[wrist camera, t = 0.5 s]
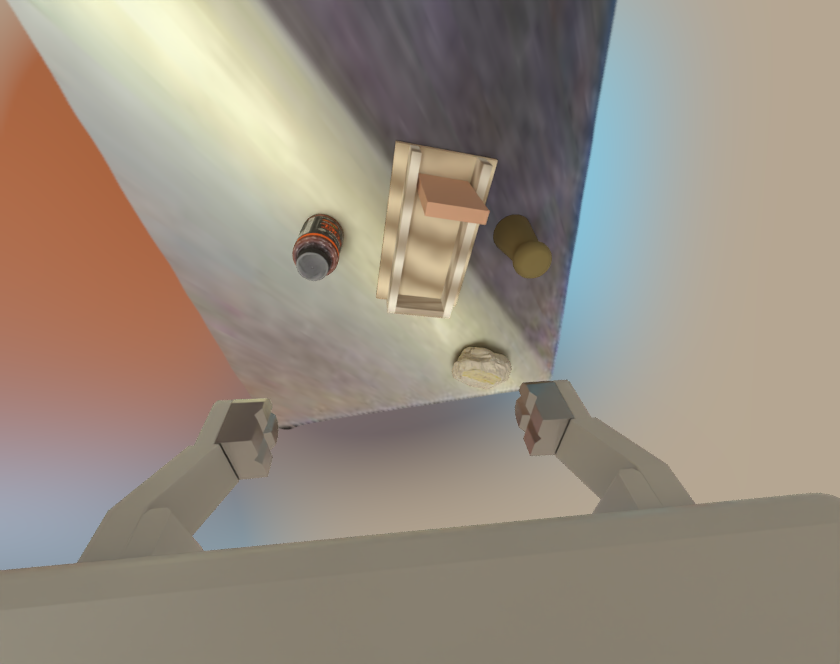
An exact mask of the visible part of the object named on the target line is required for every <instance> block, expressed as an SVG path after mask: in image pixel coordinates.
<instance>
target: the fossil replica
mask: <svg viewBox="0 0 840 664" xmlns="http://www.w3.org/2000/svg"><path fill="white" fill-rule="evenodd" d="M511 367H512V366H511V364H510V361H509V359H508V358H507V357H506V356H505V355H502V354H497V353H494V352H492V351H490V350H488V349H486V348H478V347H467V348H465V349H464V350H463V351H462V353H461V355H460V356H459V358H458V361H457V362H455V363H454V366H453V368H452V375H453V377H454V378H455V379H457V380H458V381H461V382H463V383H465V384H467V385H469V386H473V387H478V388H483V389H490V388H492V387H494V386H496V385H497V384H500V383H502V381H506V380H508V378H509V375H510V373H511V370H512V369H511Z"/></svg>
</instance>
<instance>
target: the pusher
mask: <svg viewBox="0 0 840 664" xmlns="http://www.w3.org/2000/svg"><path fill="white" fill-rule="evenodd" d="M416 188H417V191H418V194H419V198H420V201H421V204H422V208H423V211H424V214H425V216H429V217H435V218H442V219H449V220H456V221H462V222H469V223H476V224H483V225H486V222H487V218H488V215H489V212H490V211H489V210H488V208H487V207H486V206H485V204H484V203H483V201H482V200H481V199H480V197H479V196H478V194H477V193H476V192H475V190H474V189H473V187H472V186H471V185H470V183H469V182H468V181H462V180H457V179H451V178H445V177H439V176H433V175H427V174H421V173H418V179H417V185H416Z"/></svg>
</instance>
